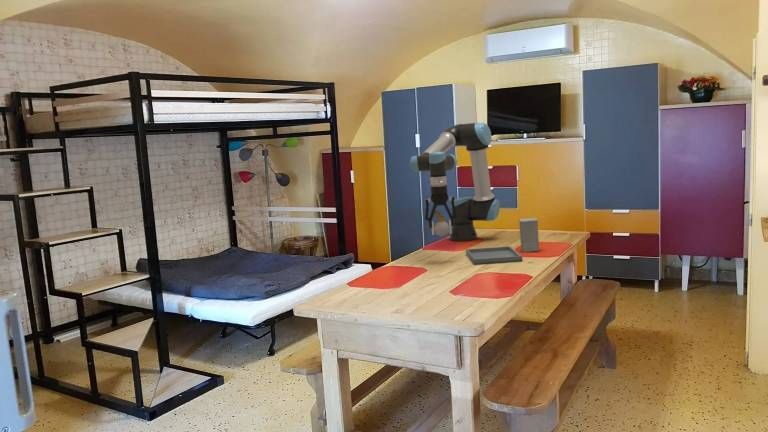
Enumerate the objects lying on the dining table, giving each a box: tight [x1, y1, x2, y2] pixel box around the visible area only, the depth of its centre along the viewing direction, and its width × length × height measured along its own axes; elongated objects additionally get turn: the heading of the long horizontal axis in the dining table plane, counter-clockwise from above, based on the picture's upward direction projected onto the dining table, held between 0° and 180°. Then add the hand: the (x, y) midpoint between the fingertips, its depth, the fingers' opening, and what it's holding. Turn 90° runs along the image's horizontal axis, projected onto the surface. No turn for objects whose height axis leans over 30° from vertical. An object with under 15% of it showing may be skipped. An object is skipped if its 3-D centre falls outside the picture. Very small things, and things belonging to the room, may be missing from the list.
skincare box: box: [518, 217, 540, 253], centre depth 300 cm, size 8×7×16 cm
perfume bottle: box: [433, 208, 450, 237], centre depth 287 cm, size 8×10×12 cm
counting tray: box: [465, 245, 523, 266], centre depth 291 cm, size 24×22×2 cm
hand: (441, 233), depth 288 cm, fingers closed on perfume bottle, 7 cm apart
